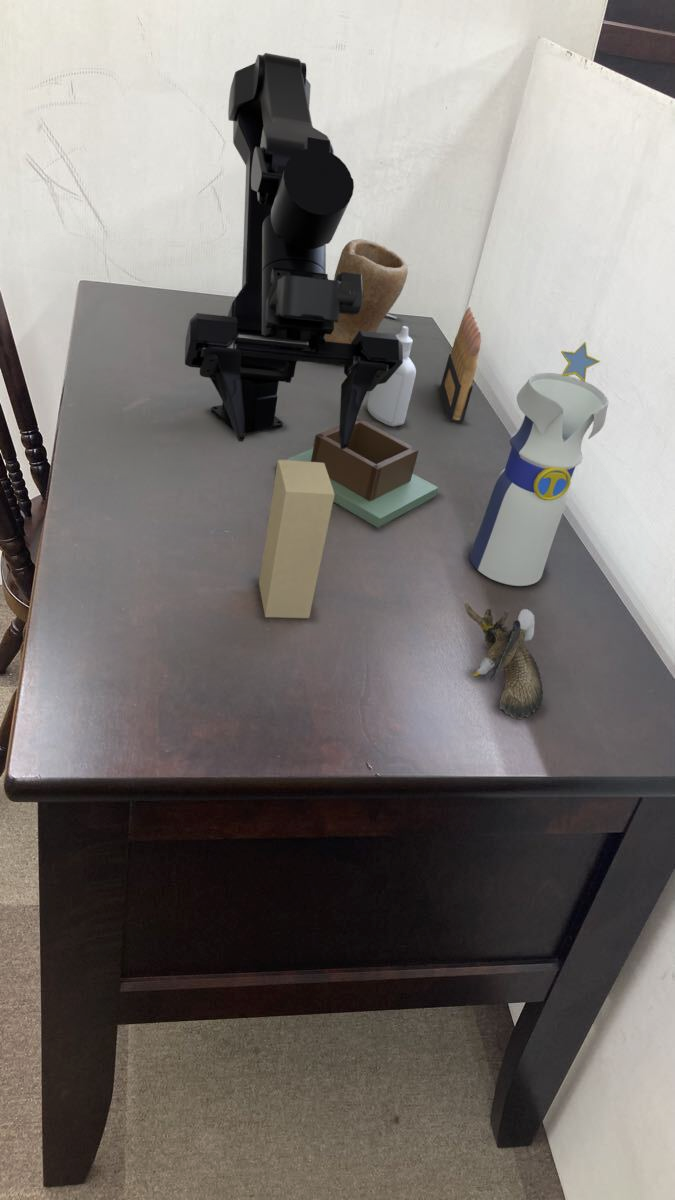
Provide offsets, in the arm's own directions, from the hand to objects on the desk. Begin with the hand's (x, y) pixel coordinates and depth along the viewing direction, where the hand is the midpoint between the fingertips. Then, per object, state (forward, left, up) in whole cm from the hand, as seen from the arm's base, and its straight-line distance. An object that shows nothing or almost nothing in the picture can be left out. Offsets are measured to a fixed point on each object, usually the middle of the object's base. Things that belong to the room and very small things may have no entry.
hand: (293, 444), depth 78 cm
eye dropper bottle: (-20, +31, -13) cm, 39 cm away
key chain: (-52, +52, -13) cm, 75 cm away
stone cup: (-40, +40, -13) cm, 58 cm away
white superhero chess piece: (+11, +22, -13) cm, 28 cm away
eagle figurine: (+23, +8, -13) cm, 27 cm away
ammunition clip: (-20, +43, -13) cm, 49 cm away
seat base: (-8, +17, -12) cm, 23 cm away
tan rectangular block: (+6, -3, -12) cm, 14 cm away
